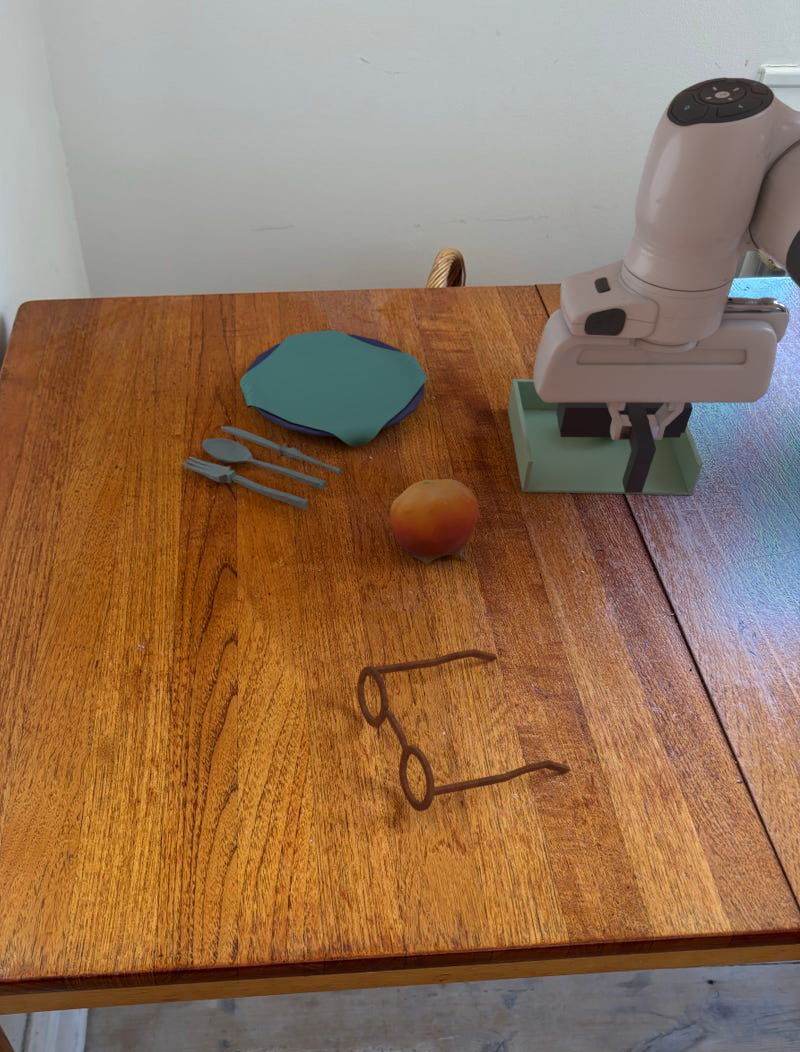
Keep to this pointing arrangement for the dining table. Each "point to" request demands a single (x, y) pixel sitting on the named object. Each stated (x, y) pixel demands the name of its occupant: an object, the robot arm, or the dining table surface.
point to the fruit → (434, 518)
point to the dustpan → (589, 454)
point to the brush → (597, 422)
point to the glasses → (416, 751)
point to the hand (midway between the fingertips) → (634, 436)
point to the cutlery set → (319, 400)
